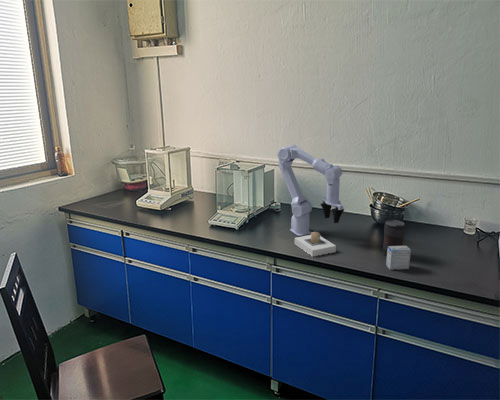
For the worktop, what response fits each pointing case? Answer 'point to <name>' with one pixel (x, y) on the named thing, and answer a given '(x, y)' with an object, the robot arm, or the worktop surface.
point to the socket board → (315, 246)
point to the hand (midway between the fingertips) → (331, 220)
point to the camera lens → (393, 234)
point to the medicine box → (398, 257)
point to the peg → (315, 237)
